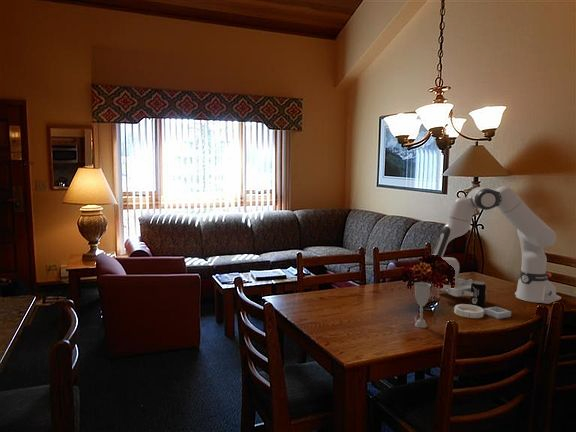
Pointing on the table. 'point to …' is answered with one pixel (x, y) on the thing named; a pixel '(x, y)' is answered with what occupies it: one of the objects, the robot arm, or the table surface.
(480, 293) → the beverage can
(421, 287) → the chalice
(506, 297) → the table surface
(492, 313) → the square holder
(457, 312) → the round collar
